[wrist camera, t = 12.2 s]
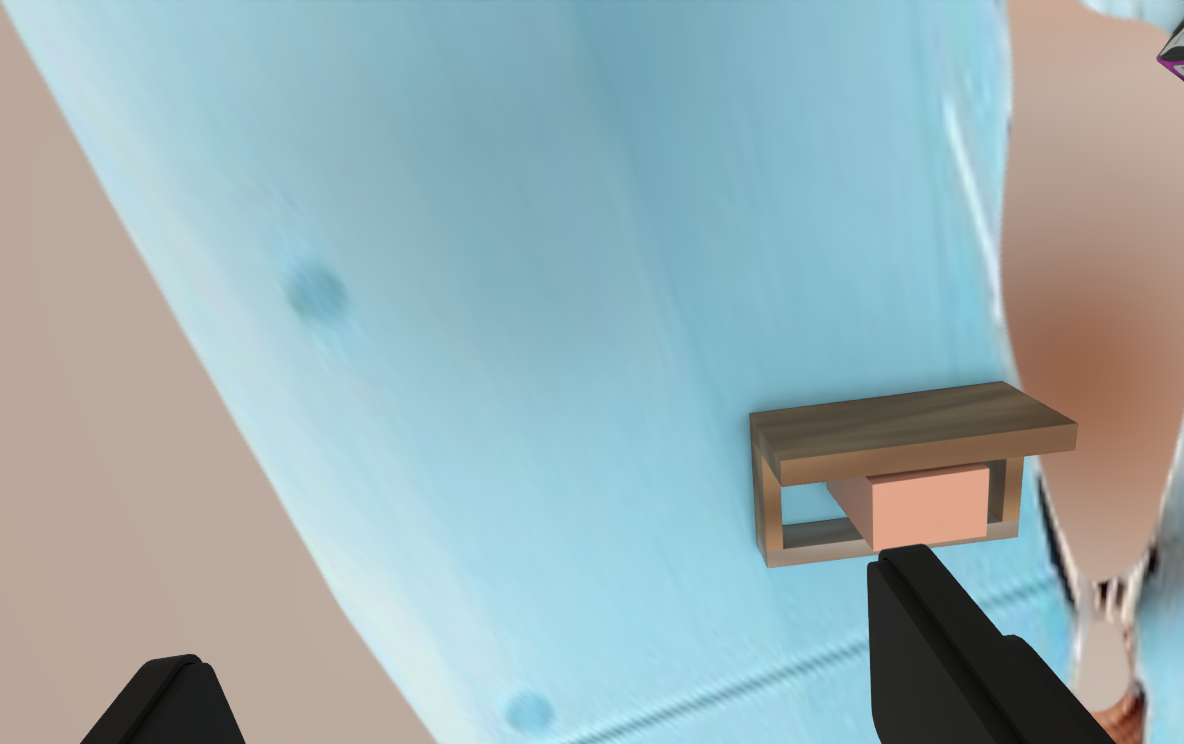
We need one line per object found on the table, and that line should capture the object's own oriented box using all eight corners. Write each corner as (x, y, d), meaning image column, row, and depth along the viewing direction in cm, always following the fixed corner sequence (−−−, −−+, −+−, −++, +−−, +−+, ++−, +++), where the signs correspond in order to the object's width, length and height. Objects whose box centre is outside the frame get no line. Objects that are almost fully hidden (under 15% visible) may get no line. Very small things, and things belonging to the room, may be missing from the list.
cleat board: (749, 413, 42) (780, 461, 36) (1002, 381, 42) (1077, 423, 35) (757, 545, 45) (787, 610, 39) (993, 516, 44) (1061, 576, 38)
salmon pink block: (825, 430, 42) (872, 484, 36) (923, 416, 42) (989, 468, 36) (827, 500, 44) (873, 564, 37) (922, 486, 44) (985, 549, 37)
